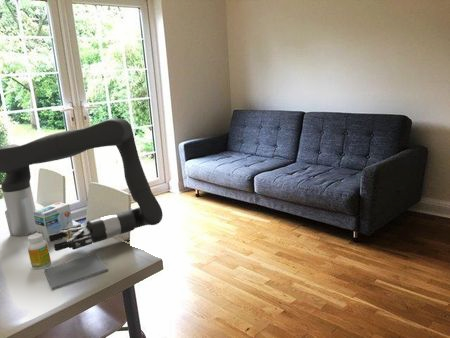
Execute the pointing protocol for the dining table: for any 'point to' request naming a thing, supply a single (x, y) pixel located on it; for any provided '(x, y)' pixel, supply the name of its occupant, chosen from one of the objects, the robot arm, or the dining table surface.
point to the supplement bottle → (38, 251)
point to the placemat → (74, 271)
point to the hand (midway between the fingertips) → (51, 243)
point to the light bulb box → (52, 219)
